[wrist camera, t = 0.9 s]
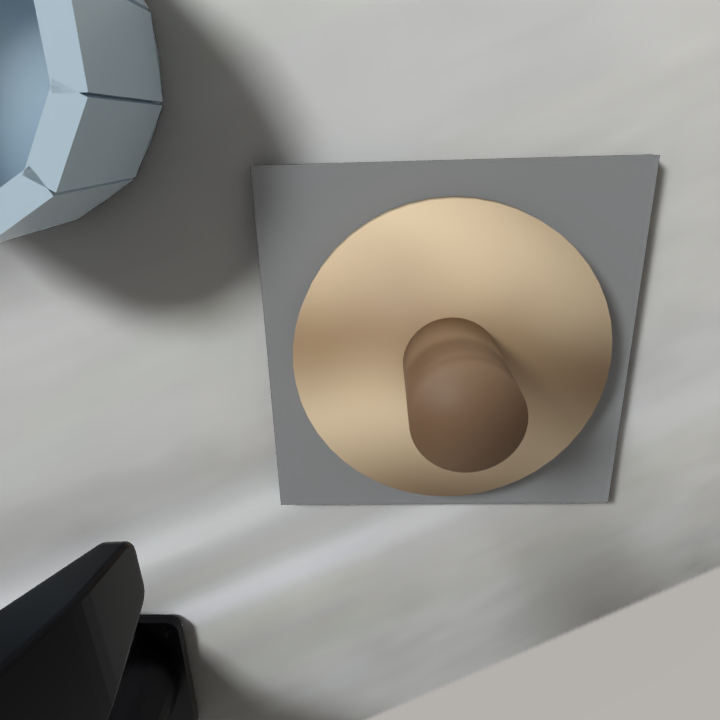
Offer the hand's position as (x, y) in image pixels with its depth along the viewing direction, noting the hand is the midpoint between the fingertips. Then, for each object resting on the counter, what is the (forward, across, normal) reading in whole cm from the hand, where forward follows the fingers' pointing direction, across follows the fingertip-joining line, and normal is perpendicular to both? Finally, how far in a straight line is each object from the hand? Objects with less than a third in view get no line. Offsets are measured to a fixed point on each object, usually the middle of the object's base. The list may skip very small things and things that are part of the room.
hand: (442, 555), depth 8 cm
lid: (+12, -1, +1) cm, 12 cm away
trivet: (+12, -1, +1) cm, 12 cm away
